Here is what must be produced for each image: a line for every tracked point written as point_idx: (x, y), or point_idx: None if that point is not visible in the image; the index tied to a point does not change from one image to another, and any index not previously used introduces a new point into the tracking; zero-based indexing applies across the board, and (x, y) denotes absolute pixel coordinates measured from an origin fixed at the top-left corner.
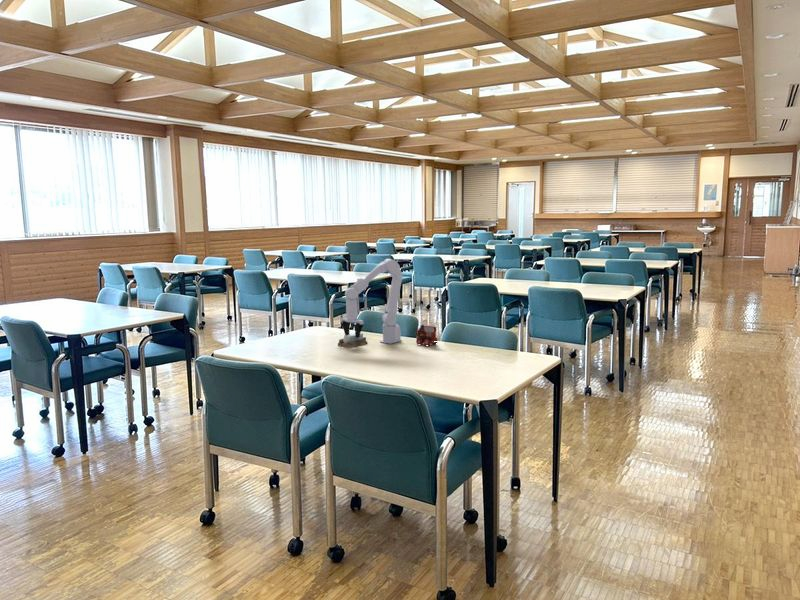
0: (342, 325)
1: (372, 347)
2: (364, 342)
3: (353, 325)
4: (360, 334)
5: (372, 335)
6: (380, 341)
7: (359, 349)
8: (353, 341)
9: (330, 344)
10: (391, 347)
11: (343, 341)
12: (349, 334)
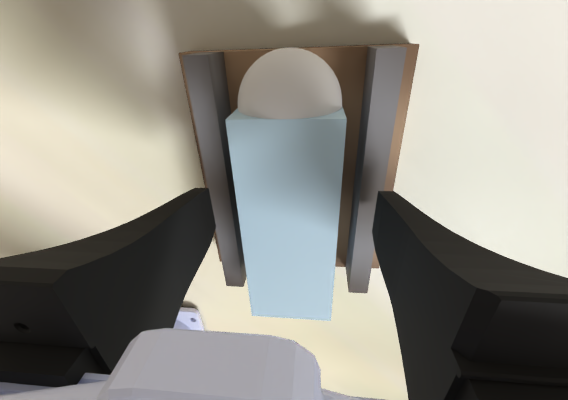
0: (507, 272)
1: (84, 179)
2: (215, 231)
3: (66, 270)
4: (249, 284)
5: (376, 395)
6: (186, 311)
7: (71, 47)
8: (199, 121)
9: (534, 17)
10: (17, 246)
11: (363, 107)
12: (332, 214)
